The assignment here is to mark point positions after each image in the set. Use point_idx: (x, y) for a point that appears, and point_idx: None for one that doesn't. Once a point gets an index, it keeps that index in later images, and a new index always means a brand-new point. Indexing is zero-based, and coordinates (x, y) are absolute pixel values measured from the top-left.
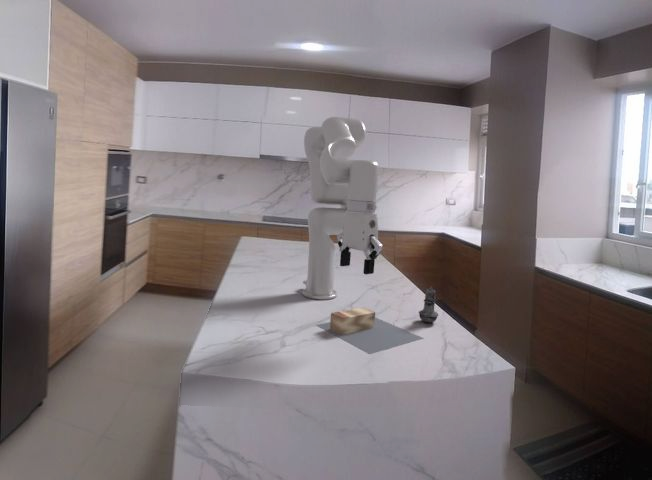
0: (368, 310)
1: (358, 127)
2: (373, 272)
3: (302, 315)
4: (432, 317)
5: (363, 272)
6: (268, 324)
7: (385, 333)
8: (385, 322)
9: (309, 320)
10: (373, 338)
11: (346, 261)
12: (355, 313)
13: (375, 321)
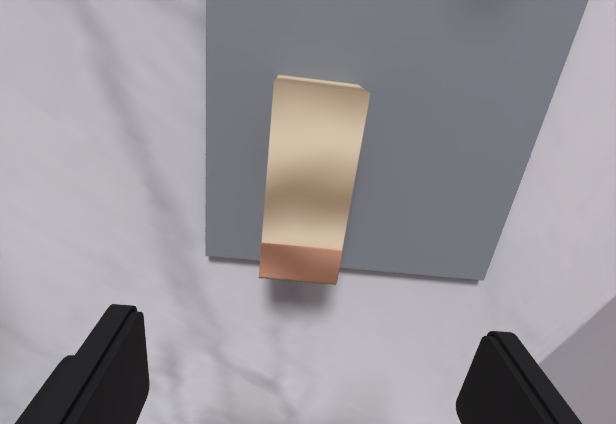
0: (329, 102)
1: None
2: (513, 334)
3: (64, 207)
4: None
5: (457, 414)
6: None
7: (432, 100)
8: None
9: (130, 221)
10: (426, 182)
11: (127, 388)
12: (320, 194)
13: (311, 7)
